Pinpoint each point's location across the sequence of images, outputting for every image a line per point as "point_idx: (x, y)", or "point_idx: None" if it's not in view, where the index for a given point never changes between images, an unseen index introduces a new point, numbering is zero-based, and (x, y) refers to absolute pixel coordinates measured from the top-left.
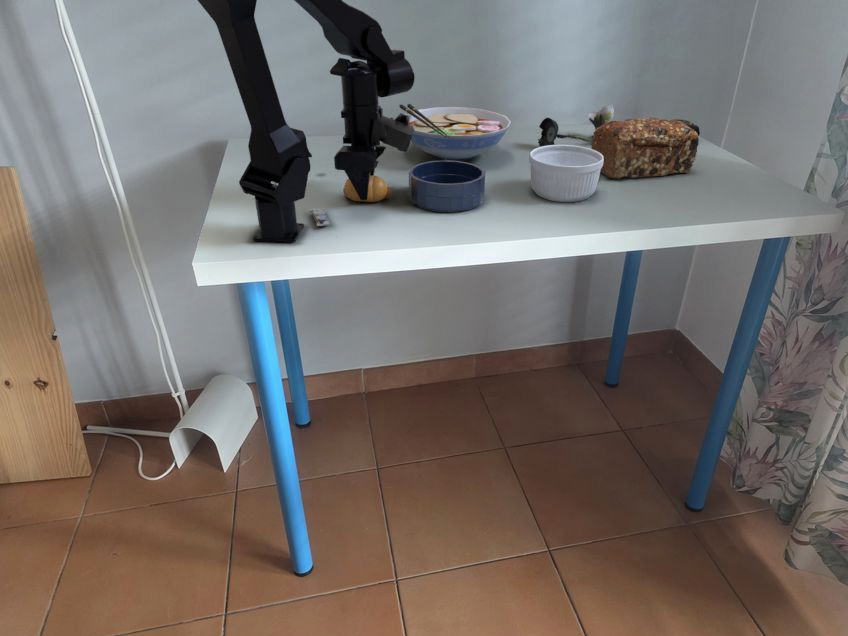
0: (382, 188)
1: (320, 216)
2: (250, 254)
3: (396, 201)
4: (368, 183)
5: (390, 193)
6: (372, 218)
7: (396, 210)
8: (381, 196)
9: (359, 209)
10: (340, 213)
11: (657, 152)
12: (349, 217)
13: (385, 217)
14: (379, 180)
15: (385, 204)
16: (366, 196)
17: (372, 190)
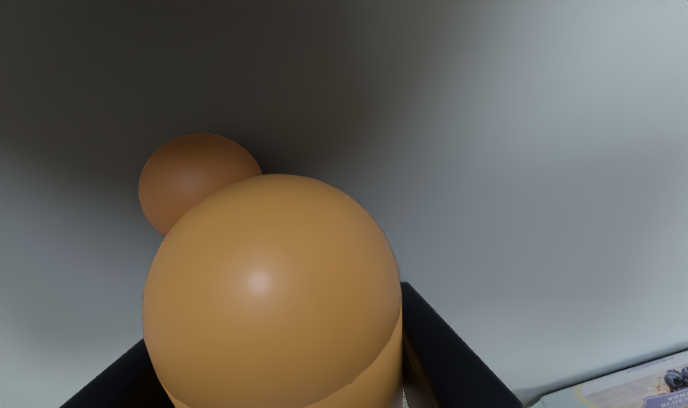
0: (343, 230)
1: (673, 406)
2: None
3: (249, 65)
4: (516, 405)
5: (217, 142)
6: (633, 166)
7: (475, 8)
8: (352, 198)
9: (458, 275)
10: (519, 338)
11: None
12: (586, 290)
13: (635, 72)
14: (306, 326)
15: (342, 142)
16: (421, 300)
17: (400, 299)
